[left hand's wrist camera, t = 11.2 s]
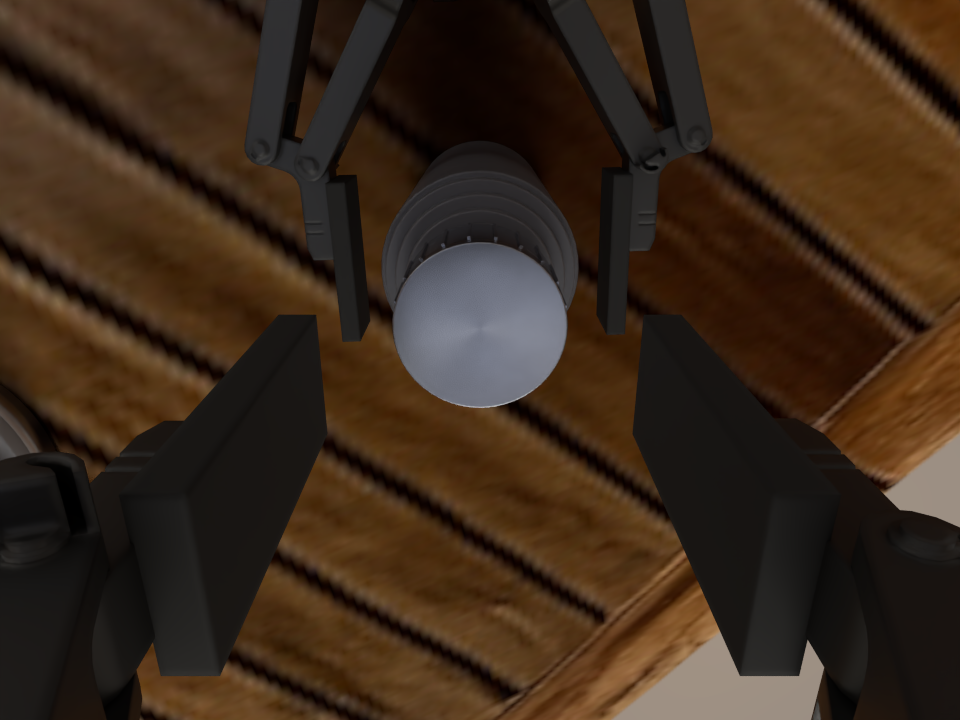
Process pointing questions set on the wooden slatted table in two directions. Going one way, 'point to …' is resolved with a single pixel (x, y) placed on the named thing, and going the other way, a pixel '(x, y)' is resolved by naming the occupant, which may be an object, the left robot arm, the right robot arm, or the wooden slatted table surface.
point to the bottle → (479, 210)
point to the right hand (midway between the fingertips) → (483, 327)
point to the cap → (480, 316)
